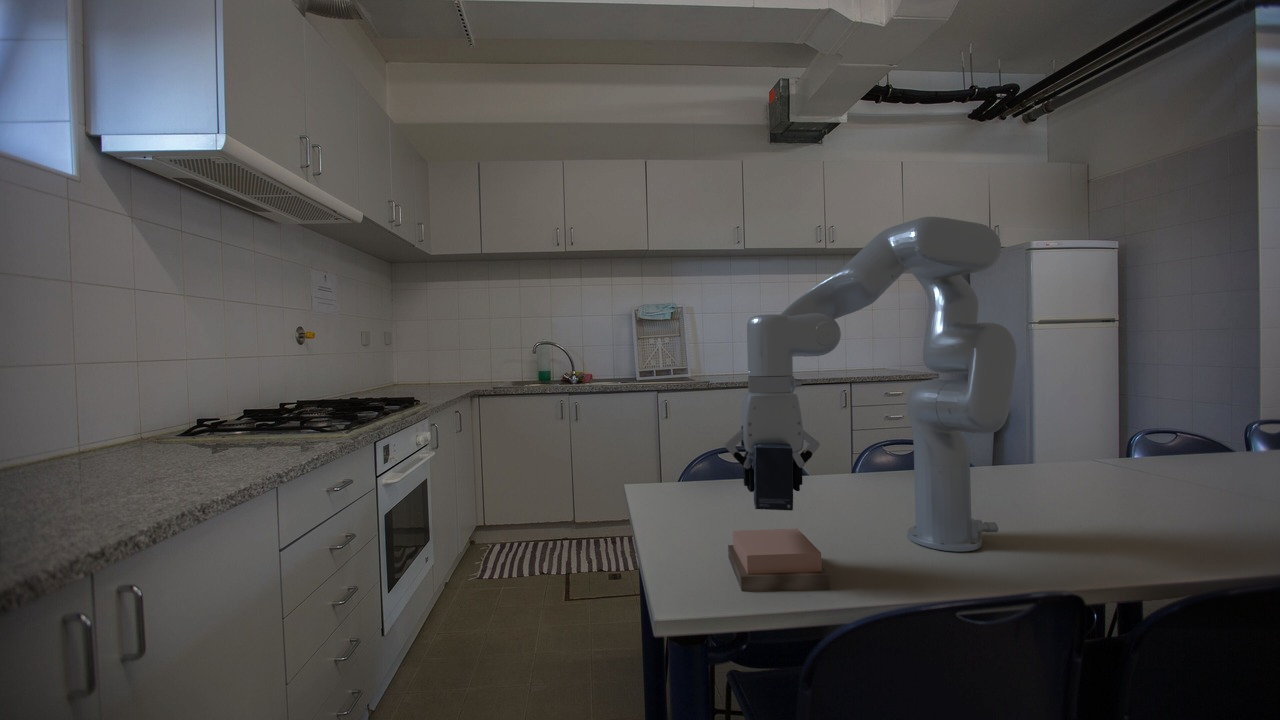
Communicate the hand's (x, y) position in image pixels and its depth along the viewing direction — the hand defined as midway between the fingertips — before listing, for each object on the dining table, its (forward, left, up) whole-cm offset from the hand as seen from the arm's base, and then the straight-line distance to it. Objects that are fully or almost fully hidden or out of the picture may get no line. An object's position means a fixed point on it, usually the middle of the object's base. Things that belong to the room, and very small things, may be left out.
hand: (772, 488), depth 89 cm
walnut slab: (0, 0, -15) cm, 15 cm away
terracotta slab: (0, 0, -12) cm, 12 cm away
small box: (0, 0, -3) cm, 3 cm away
